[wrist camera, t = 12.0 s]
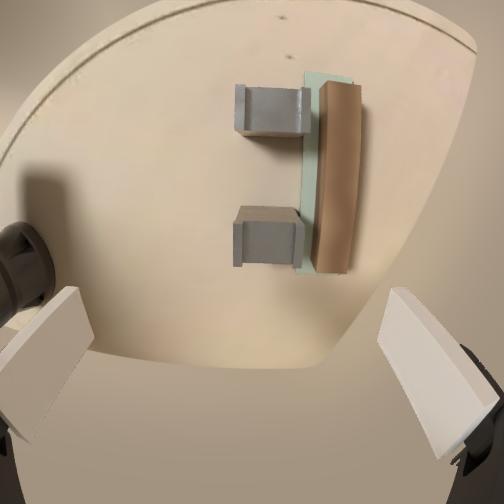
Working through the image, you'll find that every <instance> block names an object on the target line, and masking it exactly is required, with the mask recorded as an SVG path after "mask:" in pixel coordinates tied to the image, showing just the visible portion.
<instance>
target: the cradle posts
mask: <svg viewBox="0 0 504 504" xmlns="http://www.w3.org/2000/svg"><path fill="white" fill-rule="evenodd" d="M234 130H235V131H238V132H239V133H240V134H241V135H242V136H268V137H288V138H298V137H300V136H303V135H305V134H309V133H311V88H306V87H301V89H300V90H297V89H284V88H261V87H246V85H236V86H235V123H234ZM304 237H305V225H304V223H302V221H301V220H300V218H299V216H298V214H297V213H296V211H295V209H294V208H290V207H264V206H241V207H240V210H239V212H238V215H237V218H236V221H234V223H233V267H242V264H243V263H272V264H292V267H293V268H296V269H302V259H303V248H304Z"/></svg>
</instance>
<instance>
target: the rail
mask: <svg viewBox="0 0 504 504" xmlns="http://www.w3.org/2000/svg"><path fill="white" fill-rule="evenodd" d="M360 149H361V86H360V85H354V84H349V83H343V82H337V81H330V80H327V81H326V82H325V83H324V84H323V85H322V86H321V88H320V89H319V136H318V162H317V181H316V196H315V210H314V223H313V234H312V245H311V255H310V260H311V262H312V265H313V267H314V269H315V272H316V273H330V274H347V270H348V264H349V258H350V251H351V244H352V237H353V229H354V221H355V213H356V203H357V193H358V181H359V167H360Z"/></svg>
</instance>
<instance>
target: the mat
mask: <svg viewBox="0 0 504 504" xmlns="http://www.w3.org/2000/svg"><path fill="white" fill-rule="evenodd" d="M327 80H330V81H337V82H343V83H349V84H352V78H348V77H342V76H336V75H329V74H322V73H314V72H305V73H304V87H306V88H311V133H309V134H305V135H303V161H302V182H301V200H300V215H299V218H300V220H301V221H302V223H304V225H305V237H304V248H303V259H302V269H296V268H295V274H325V275H338V274H330V273H316V272H315V269H314V267H313V265H312V262H311V260H310V255H311V245H312V234H313V223H314V210H315V196H316V181H317V162H318V136H319V89H320V88H321V86H322V85H323V84H324V83H325V82H326V81H327Z"/></svg>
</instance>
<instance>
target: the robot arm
mask: <svg viewBox="0 0 504 504" xmlns="http://www.w3.org/2000/svg"><path fill="white" fill-rule="evenodd" d="M54 287H55V274H54V268H53V264H52V260H51V257H50V254H49V252H48V250H47V248H46V246H45V244H44V242H43V240H42V239H41V237H40V236H39V234H38V233H37V232H36V231H35V230H34V229H33V228H32V227H31V226H29V225H28V224H26V223H23V222H15V223H13V224H11V225H9V226H7V227H5V228H4V229H3V230H2V231H1V232H0V328H1V327H2V326H3V325H4V324H6V323H7V322H8V321H9V320H10V319H11V318H12V317H13V316H14V315H15V314H17V313H18V312H22V311H25V310H28V309H31V308H34V307H38V306H40V305H42V304H43V303H44V302H46V301H47V300H48V299H49V298H50V297H51V296H52V294H53V291H54ZM94 338H95V336H94V334H93V331H92V328H91V325H90V322H89V320H88V317H87V314H86V311H85V307H84V304H83V301H82V298H81V294H80V291H79V287H72V286H66V287H64V288H63V289H62V290H61V291H60V292H59V293H58V294H57V295H56V296H55V297H54V298H53V299H51V300H50V301H49V302H48V303H47V304H46V305H45V306H44V307H43V308H42V309H41V310H40V311H39V312H38V313H37V314H36V315H35V316H34V317H33V318H32V319H31V320H30V321H29V322H28V323H27V324H26V325H25V326H24V327H23V328H22V329H21V330H20V331H19V333H18V334H17V335H16V336H15V337H14V338H13V339H12V340H11V341H10V342H9V343H8V344H7V345H6V346H5V347H4V348H3V349H2V350H1V352H0V504H26V503H25V500H24V497H23V493H22V490H21V486H20V482H19V478H18V474H17V469H16V464H15V459H14V453H13V447H12V440H11V436H10V434H9V432H8V431H7V430H8V428H9V427H10V428H11V430H12V431H13V432H14V433H15V434H16V435H17V436H18V437H19V438H21V439H23V440H25V441H26V442H28V443H30V444H31V443H32V441H33V439H34V437H35V435H36V434H37V432H38V430H39V428H40V426H41V424H42V422H43V421H44V419H45V417H46V415H47V413H48V412H49V410H50V408H51V406H52V405H53V403H54V401H55V399H56V397H57V396H58V394H59V393H60V391H61V389H62V388H63V386H64V384H65V383H66V381H67V380H68V378H69V376H70V375H71V373H72V372H73V370H74V368H75V367H76V365H77V364H78V362H79V361H80V359H81V358H82V356H83V355H84V353H85V352H86V350H87V349H88V347H89V346H90V344H91V343H92V341H93V340H94ZM377 342H378V344H379V346H380V348H381V349H382V351H383V352H384V355H385V356H386V358H387V360H388V362H389V363H390V365H391V367H392V369H393V371H394V373H395V374H396V376H397V378H398V380H399V382H400V384H401V386H402V387H403V389H404V391H405V393H406V395H407V397H408V399H409V401H410V403H411V405H412V407H413V409H414V411H415V413H416V415H417V417H418V419H419V421H420V423H421V425H422V427H423V429H424V431H425V433H426V435H427V437H428V440H429V442H430V444H431V446H432V449H433V451H434V453H435V455H436V458H437V459H439V458H441V457H444V456H445V455H448V454H450V453H452V452H454V451H455V450H456V449H457V448H458V447H459V446H460V445H461V444H462V443H463V442H464V443H465V445H466V447H465V448H464V449H463V450H462V451H461V452H460V453H459V454H458V455H457V456H456V457H455V458H454V459H452V461H451V463H450V464H451V465H453V464H454V463H455V462H456V461H457V460H458V459H459V458H460V461H459V462H458V463H457V464H456V466H458V469H457V473H456V476H455V479H454V483H453V486H452V489H451V492H450V494H449V497H448V500H447V503H446V504H504V392H503V391H502V389H501V388H500V387H499V385H498V384H497V383H496V381H495V380H494V379H493V378H492V376H491V375H490V374H489V372H488V371H487V370H485V367H484V366H483V365H482V363H481V362H479V360H478V358H477V357H476V356H475V355H474V354H473V353H472V352H471V351H470V350H469V349H468V348H466V347H465V346H463V345H462V344H460V345H459V344H458V343H457V342H456V341H455V340H454V338H453V337H452V336H451V335H450V334H449V333H448V331H447V330H446V329H445V328H444V327H443V326H442V325H441V324H440V323H439V321H438V320H437V319H436V318H435V317H434V316H433V315H432V314H431V313H430V312H429V310H428V309H427V308H426V307H425V306H424V305H423V304H422V303H421V302H420V301H419V300H418V299H417V298H416V297H415V296H414V294H413V293H412V292H411V291H410V290H408V288H407V287H405V286H404V287H391V289H390V293H389V298H388V301H387V305H386V309H385V313H384V316H383V320H382V323H381V327H380V330H379V334H378V337H377Z"/></svg>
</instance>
